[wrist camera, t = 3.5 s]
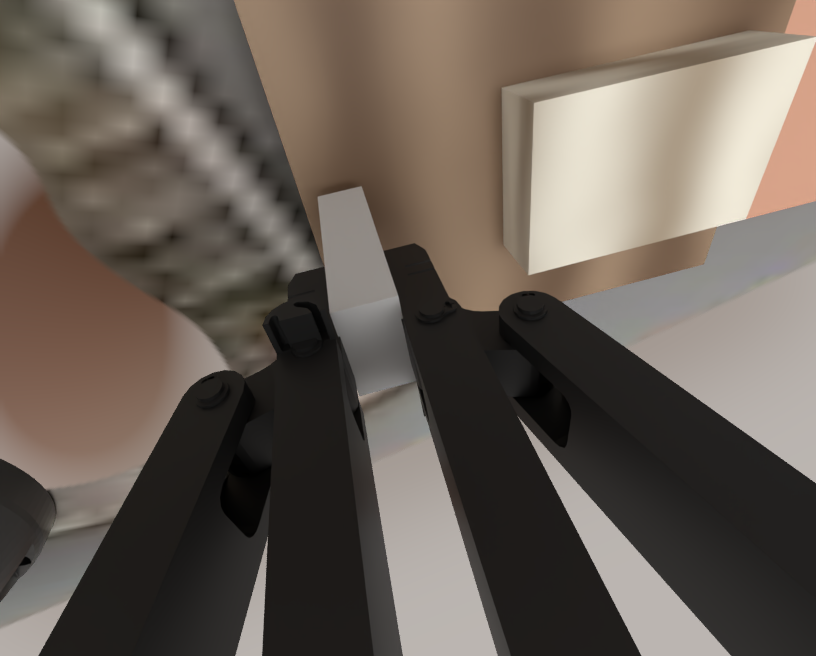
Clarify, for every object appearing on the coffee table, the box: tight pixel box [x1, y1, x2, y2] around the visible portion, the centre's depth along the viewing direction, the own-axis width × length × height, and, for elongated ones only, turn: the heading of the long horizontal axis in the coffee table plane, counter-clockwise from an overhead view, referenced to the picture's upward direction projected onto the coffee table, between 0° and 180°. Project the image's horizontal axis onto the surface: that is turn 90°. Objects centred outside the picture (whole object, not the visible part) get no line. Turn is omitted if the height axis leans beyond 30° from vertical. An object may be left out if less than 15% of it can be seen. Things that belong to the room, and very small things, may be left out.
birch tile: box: [502, 30, 816, 275], centre depth 15 cm, size 9×6×2 cm, turn 99°
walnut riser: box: [234, 0, 796, 311], centre depth 18 cm, size 18×14×4 cm
